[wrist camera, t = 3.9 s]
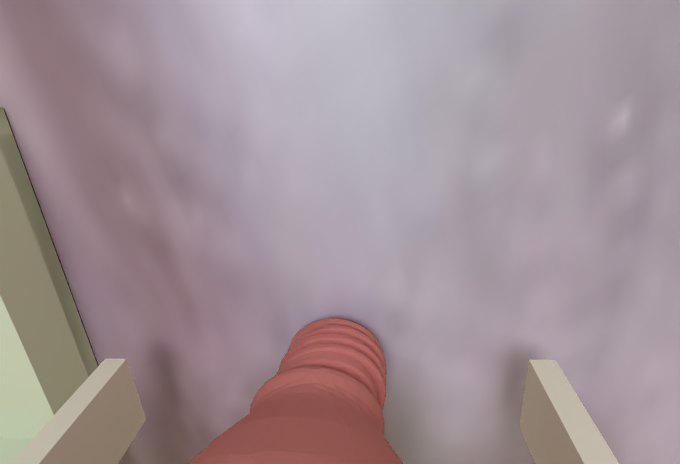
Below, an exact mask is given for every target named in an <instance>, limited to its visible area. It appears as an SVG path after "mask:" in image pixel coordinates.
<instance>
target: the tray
mask: <svg viewBox="0 0 680 464" xmlns="http://www.w3.org/2000/svg"><path fill="white" fill-rule="evenodd" d="M97 367H98V365H97V362H96V360H95V357H94V354H93V352H92V349H91V346H90V343H89V341H88V338H87V335H86V333H85V330H84V327H83V324H82V322H81V319H80V316H79V313H78V311H77V308H76V305H75V303H74V300H73V297H72V294H71V292H70V289H69V286H68V284H67V281H66V278H65V275H64V273H63V270H62V267H61V264H60V262H59V259H58V256H57V254H56V251H55V248H54V245H53V243H52V240H51V237H50V235H49V232H48V229H47V226H46V224H45V221H44V218H43V216H42V213H41V210H40V207H39V205H38V202H37V199H36V196H35V194H34V191H33V188H32V186H31V183H30V180H29V177H28V175H27V172H26V169H25V167H24V164H23V161H22V158H21V156H20V153H19V150H18V147H17V145H16V142H15V139H14V137H13V134H12V131H11V128H10V126H9V123H8V120H7V118H6V115H5V112H4V109H3V108H0V464H10V463H11V462H12V461H13V460H14V459H15V458H16V456H17V455H18V454H19V453H20V452H21V451H22V450H23V449H24V448H25V447H26V445H27V444H28V443H29V442H30V441H31V440H32V439H33V438H34V437H35V436H36V434H37V433H38V432H39V431H40V430H41V429H42V428H43V427H44V426H45V425H46V423H47V422H48V421H49V420H50V419H51V418H52V417H53V416H54V415H55V414H56V412H57V411H58V410H59V409H60V408H61V407H62V406H63V405H64V404H65V403H66V401H67V400H68V399H69V398H70V397H71V396H72V395H73V394H74V393H75V392H76V390H77V389H78V388H79V387H80V386H81V385H82V384H83V383H84V382H85V381H86V379H87V378H88V377H89V376H90V375H91V374H92V373H93V372H94V371H95V369H96V368H97Z"/></svg>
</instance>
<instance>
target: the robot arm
mask: <svg viewBox="0 0 680 464" xmlns="http://www.w3.org/2000/svg"><path fill="white" fill-rule="evenodd" d="M145 421H146V416H145V413H144V410H143V407H142V404H141V401H140V398H139V395H138V392H137V389H136V386H135V383H134V380H133V377H132V374H131V371H130V368H129V365H128V362H127V359H105V360H104V361H103V362H102V363H101V364H100V365H99V366H98V367H97V368H96V369H95V371H94V372H93V373H92V374H91V375H90V376H89V377H88V378H87V379H86V381H85V382H84V383H83V384H82V385H81V386H80V387H79V388H78V389H77V390H76V392H75V393H74V394H73V395H72V396H71V397H70V398H69V399H68V400H67V401H66V403H65V404H64V405H63V406H62V407H61V408H60V409H59V410H58V411H57V412H56V414H55V415H54V416H53V417H52V418H51V419H50V420H49V421H48V422H47V423H46V425H45V426H44V427H43V428H42V429H41V430H40V431H39V432H38V433H37V434H36V436H35V437H34V438H33V439H32V440H31V441H30V442H29V443H28V444H27V445H26V447H25V448H24V449H23V450H22V451H21V452H20V453H19V454H18V455H17V456H16V458H15V459H14V460H13V461H12V462H11V463H10V464H118V463H119V462H120V460H121V459H122V457H123V455H124V454H125V452H126V451H127V449H128V448H129V446H130V444H131V443H132V441H133V440H134V438H135V437H136V435H137V433H138V432H139V430H140V429H141V427H142V426H143V424H144V422H145ZM519 426H520V429H521V431H522V434H523V436H524V439H525V441H526V444H527V446H528V448H529V451H530V453H531V456H532V458H533V461H534V463H535V464H619V463H618V461H617V459H616V458H615V456H614V455H613V453H612V451H611V450H610V448H609V446H608V445H607V443H606V442H605V440H604V438H603V437H602V435H601V433H600V432H599V430H598V429H597V427H596V425H595V424H594V422H593V421H592V419H591V417H590V416H589V414H588V412H587V411H586V409H585V408H584V406H583V404H582V403H581V401H580V399H579V398H578V396H577V395H576V393H575V391H574V390H573V388H572V386H571V385H570V383H569V382H568V380H567V378H566V377H565V375H564V373H563V372H562V370H561V369H560V367H559V365H558V364H557V362H556V361H555V360H529V364H528V371H527V377H526V384H525V391H524V397H523V404H522V411H521V418H520V424H519Z"/></svg>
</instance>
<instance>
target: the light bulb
mask: <svg viewBox="0 0 680 464" xmlns="http://www.w3.org/2000/svg"><path fill="white" fill-rule="evenodd" d="M385 375H386V364H385V360H384V356H383V351H382V349H381V347H380V345H379V343H378V341H377V339H376V338H375V337H374V336H373V334H372V333H371V332H369V331H368V330H367V329H366V328H364V327H362V326H360V325H358V324H356V323H355V322H353V321H348V320H343V319H339V318H328V319H323V320H319V321H315V322H313V323H311V324H308V325H307V326H305V327H304V328H303V329H301V330H300V331H299V332H298V333H297V334H296V335H295V336H294V338H293V339H292V342H291V344H290V347H289V349H288V352H287V353H286V355H285V356H284V358H283V360H282V362H281V365H280V367H279V371H278V373H277V375H276V376H274V377H273V378H271V379H270V380H268V381H267V382H266V383H264V385H263V386H262V387H261V388H260V389H259V391H258V392H257V394H256V396H255V398H254V400H253V402H252V404H251V408H250V414H248V415H247V416H246V417H244V418H243V419H242V420H240V421H239V422H238V423H236V424H235V425H234V426H232V427H231V428H230V429H228V430H227V431H226V432H224V433H223V434H222V435H220V436H219V437H218V438H216V439H215V440H214V441H213V442H212V443H210V444H209V445H208V446H207V447H206V448H205V449H204V450H203V451H202V452H201V453H199V454H198V455H197V456H196V457H195V458H194V459H193V460H192V461H191V462H189V463H188V464H403V463H402V462H401V460H400V459H399V457H398V456H397V455H396V453H395V452H394V450H393V449H392V448H391V446H390V445H389V443H388V442H387V441H386V439H385V438H384V436H383V434H384V419H383V413H382V410H381V409H382V408H383V406H384V401H385V396H386V388H385V387H386V378H385Z"/></svg>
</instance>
